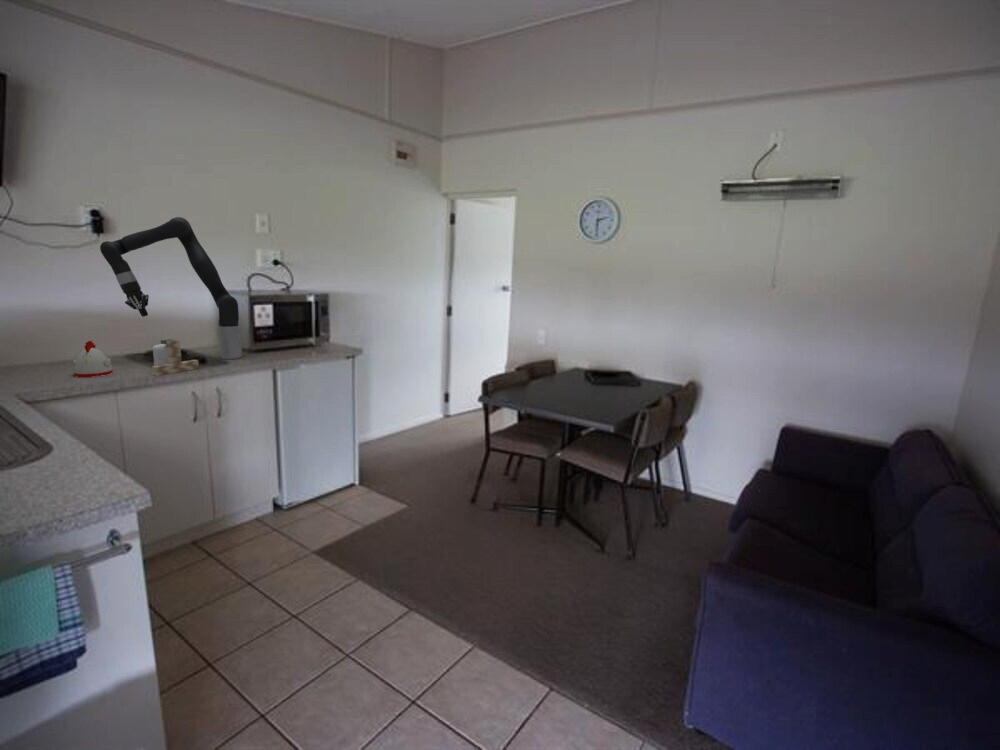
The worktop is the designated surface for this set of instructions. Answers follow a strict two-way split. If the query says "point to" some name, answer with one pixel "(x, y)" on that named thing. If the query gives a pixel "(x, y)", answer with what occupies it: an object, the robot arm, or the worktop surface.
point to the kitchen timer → (91, 362)
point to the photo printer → (160, 354)
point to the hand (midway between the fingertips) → (145, 316)
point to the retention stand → (174, 360)
